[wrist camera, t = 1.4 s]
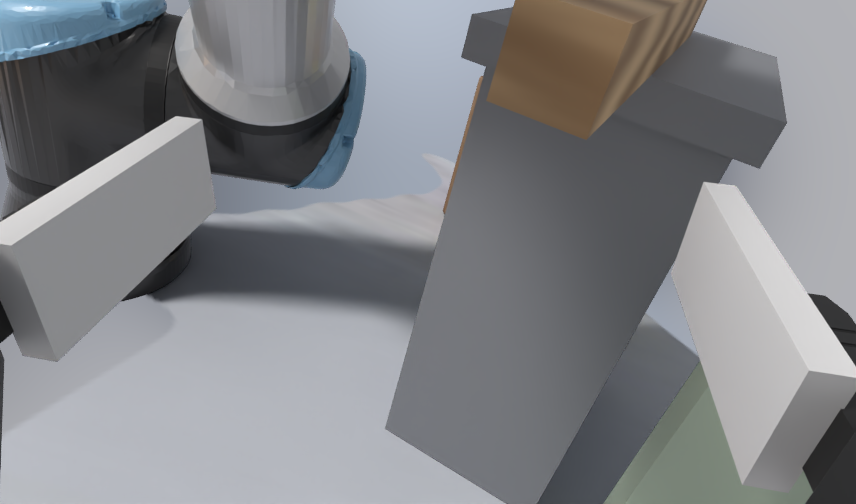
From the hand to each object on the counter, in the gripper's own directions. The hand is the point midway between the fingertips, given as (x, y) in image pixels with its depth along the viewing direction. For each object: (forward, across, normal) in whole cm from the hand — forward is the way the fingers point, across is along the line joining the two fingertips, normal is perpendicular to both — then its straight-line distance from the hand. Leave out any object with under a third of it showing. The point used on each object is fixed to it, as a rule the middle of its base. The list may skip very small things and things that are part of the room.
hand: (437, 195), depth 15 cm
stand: (+21, +4, -29) cm, 36 cm away
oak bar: (+15, +7, +1) cm, 17 cm away
